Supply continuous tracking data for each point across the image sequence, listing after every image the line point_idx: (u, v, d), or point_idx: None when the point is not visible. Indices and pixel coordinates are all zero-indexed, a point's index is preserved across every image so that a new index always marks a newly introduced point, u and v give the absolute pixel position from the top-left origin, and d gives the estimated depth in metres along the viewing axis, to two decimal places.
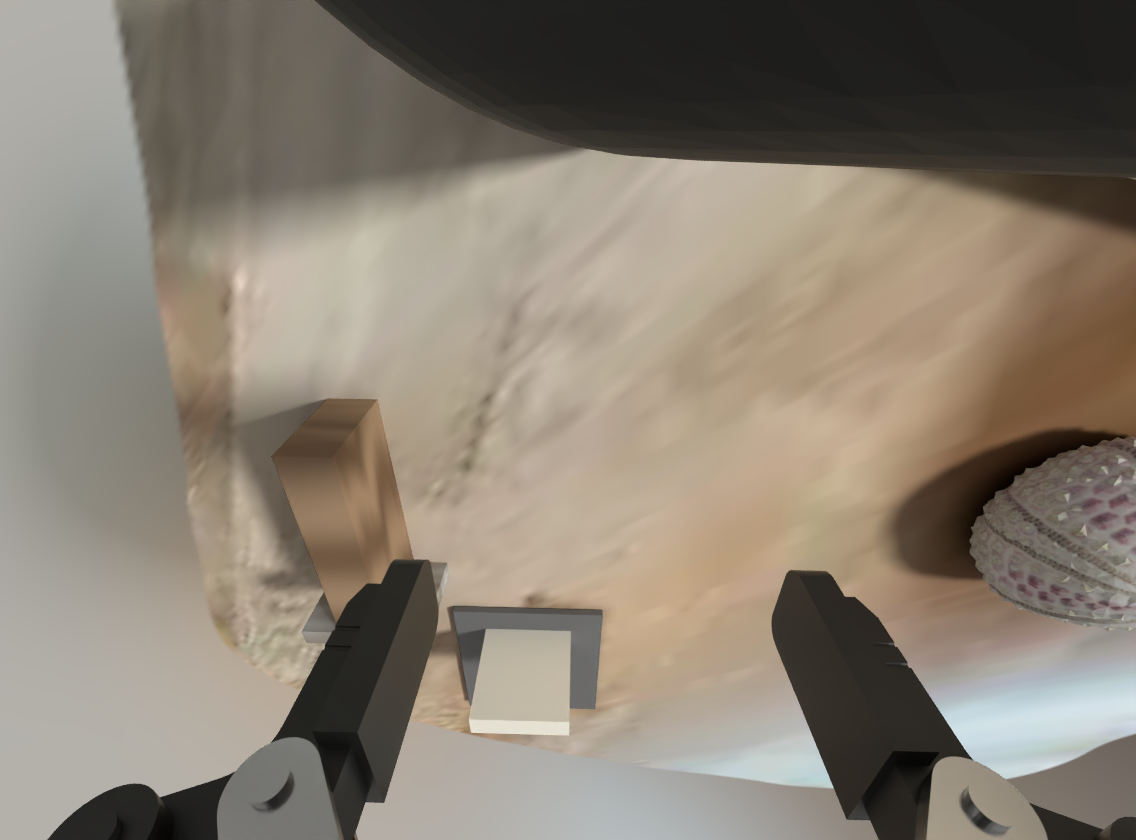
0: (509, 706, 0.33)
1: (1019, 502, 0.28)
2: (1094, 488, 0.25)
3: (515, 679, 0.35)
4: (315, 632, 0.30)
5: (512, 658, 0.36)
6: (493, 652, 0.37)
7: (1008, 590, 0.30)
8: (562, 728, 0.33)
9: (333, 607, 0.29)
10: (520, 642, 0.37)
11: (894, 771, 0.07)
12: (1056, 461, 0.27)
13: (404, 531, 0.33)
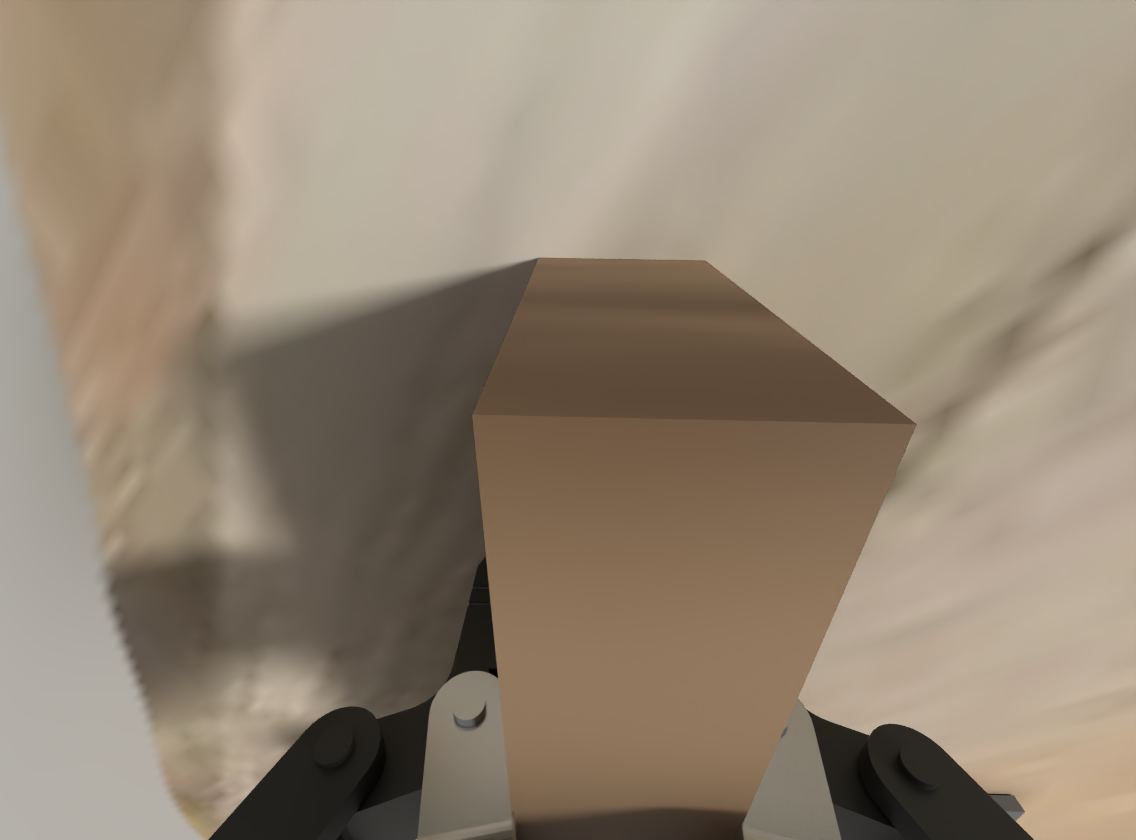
0: None
1: None
2: None
3: None
4: None
5: None
6: None
7: None
8: None
9: None
10: None
11: None
12: None
13: None
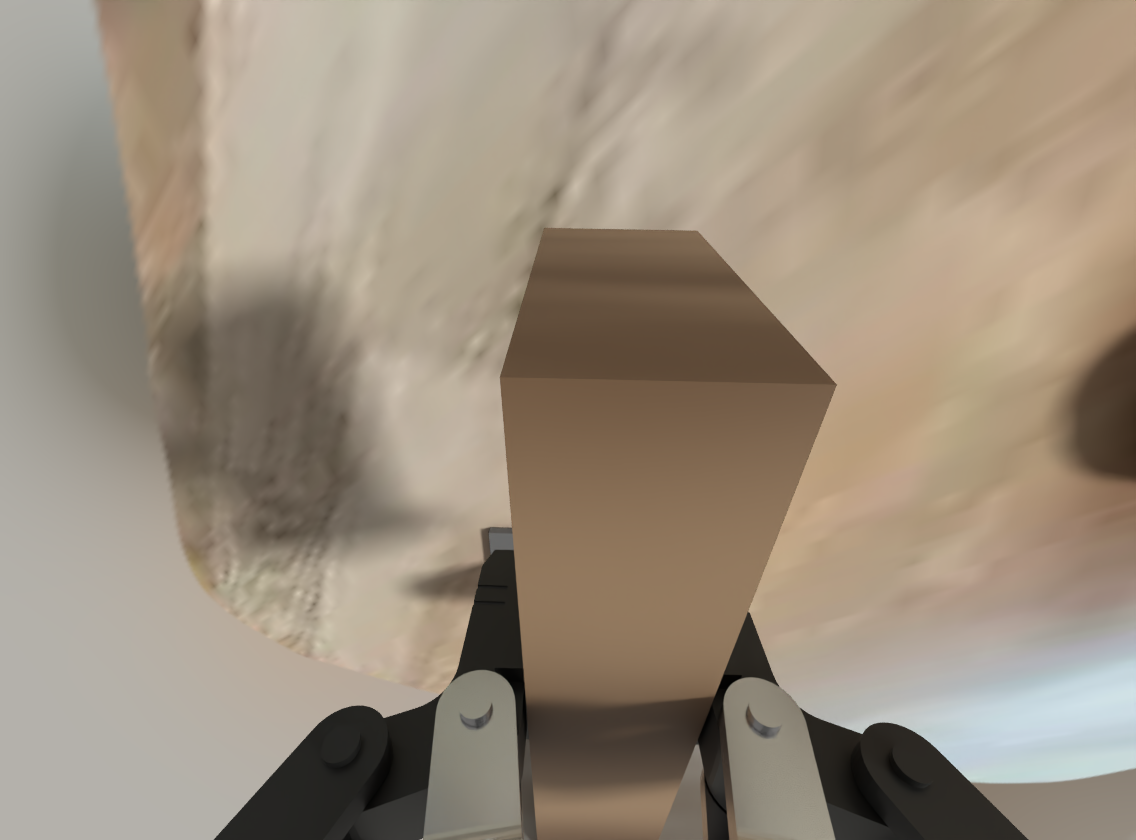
0: None
1: None
2: None
3: None
4: None
5: None
6: None
7: None
8: None
9: (544, 816, 0.11)
10: None
11: None
12: None
13: None
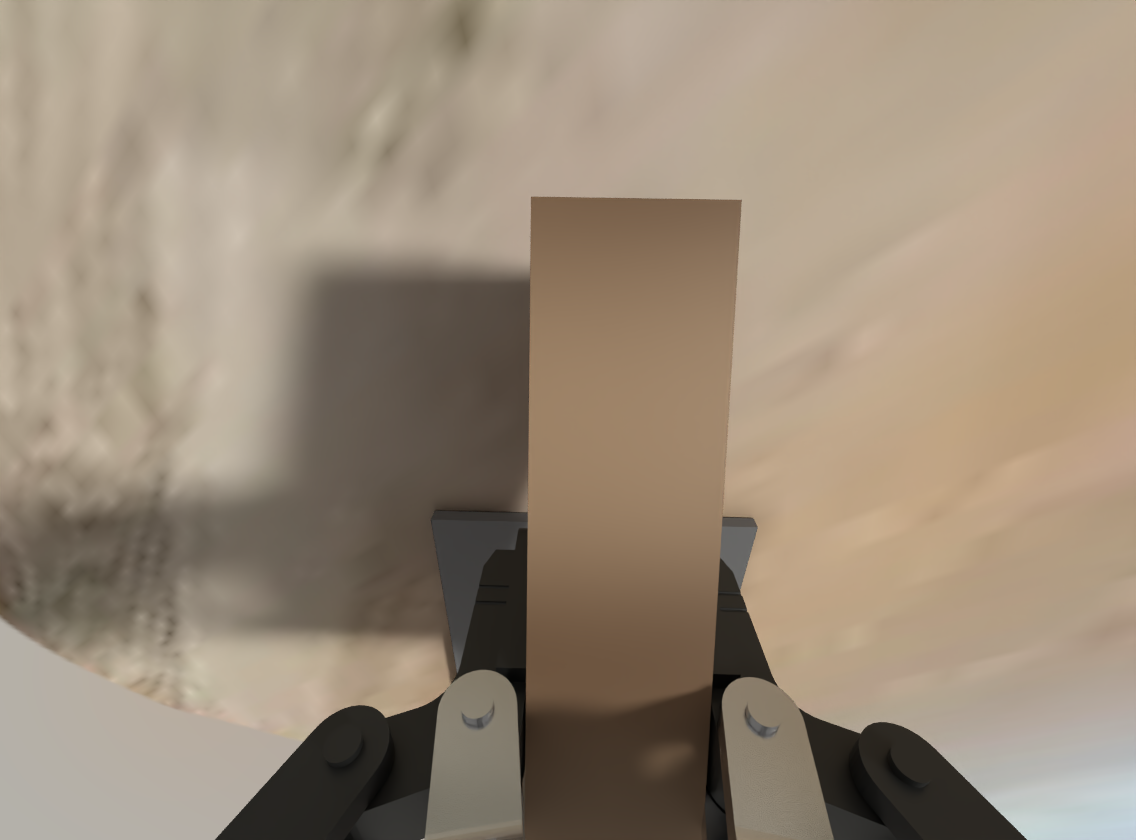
0: None
1: None
2: None
3: None
4: None
5: None
6: None
7: None
8: None
9: None
10: None
11: None
12: None
13: None
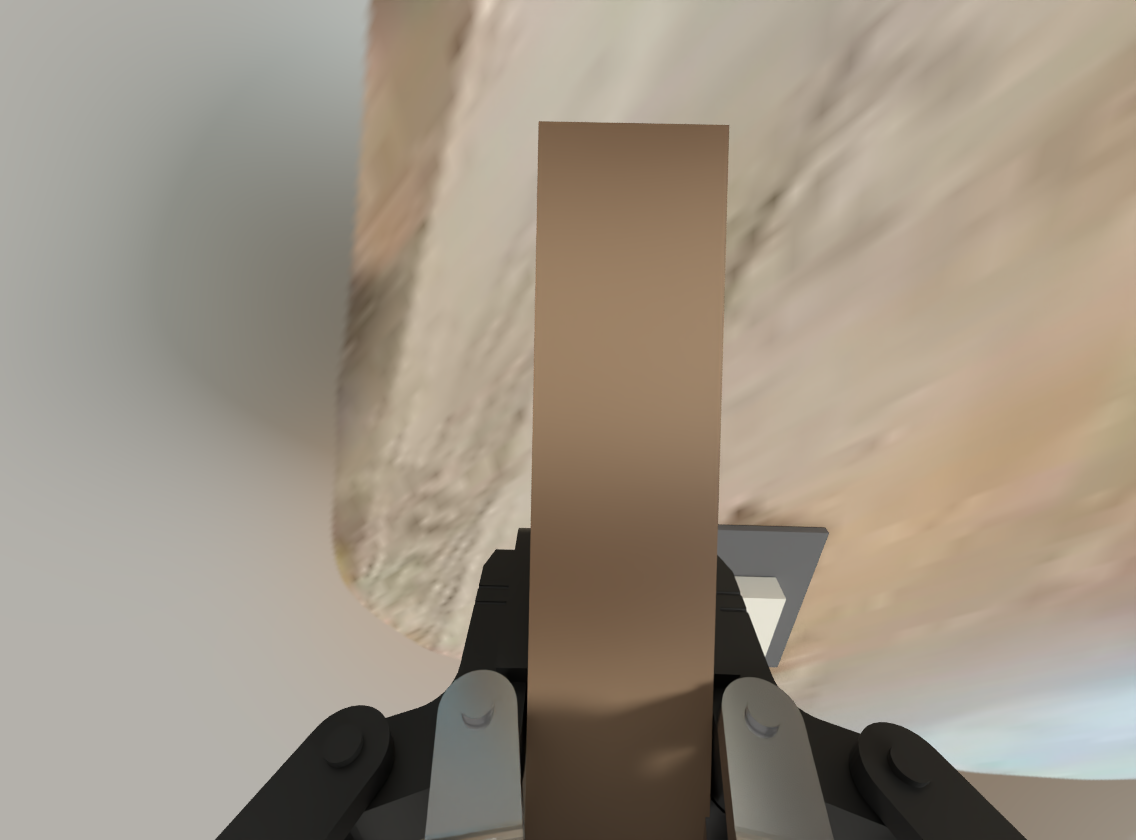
0: None
1: None
2: None
3: None
4: None
5: None
6: None
7: None
8: None
9: (537, 835, 0.08)
10: None
11: None
12: None
13: None
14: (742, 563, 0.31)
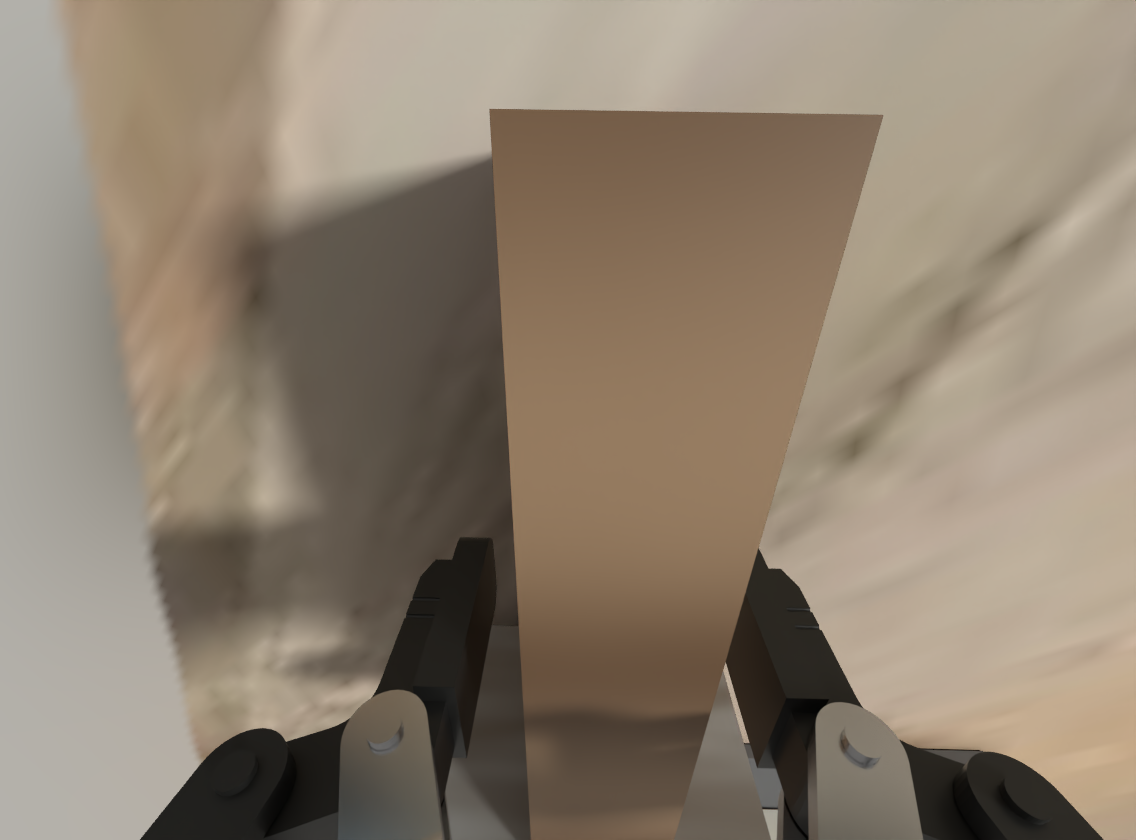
0: None
1: None
2: None
3: None
4: None
5: None
6: None
7: None
8: None
9: (540, 808, 0.09)
10: None
11: (791, 718, 0.08)
12: None
13: None
14: None
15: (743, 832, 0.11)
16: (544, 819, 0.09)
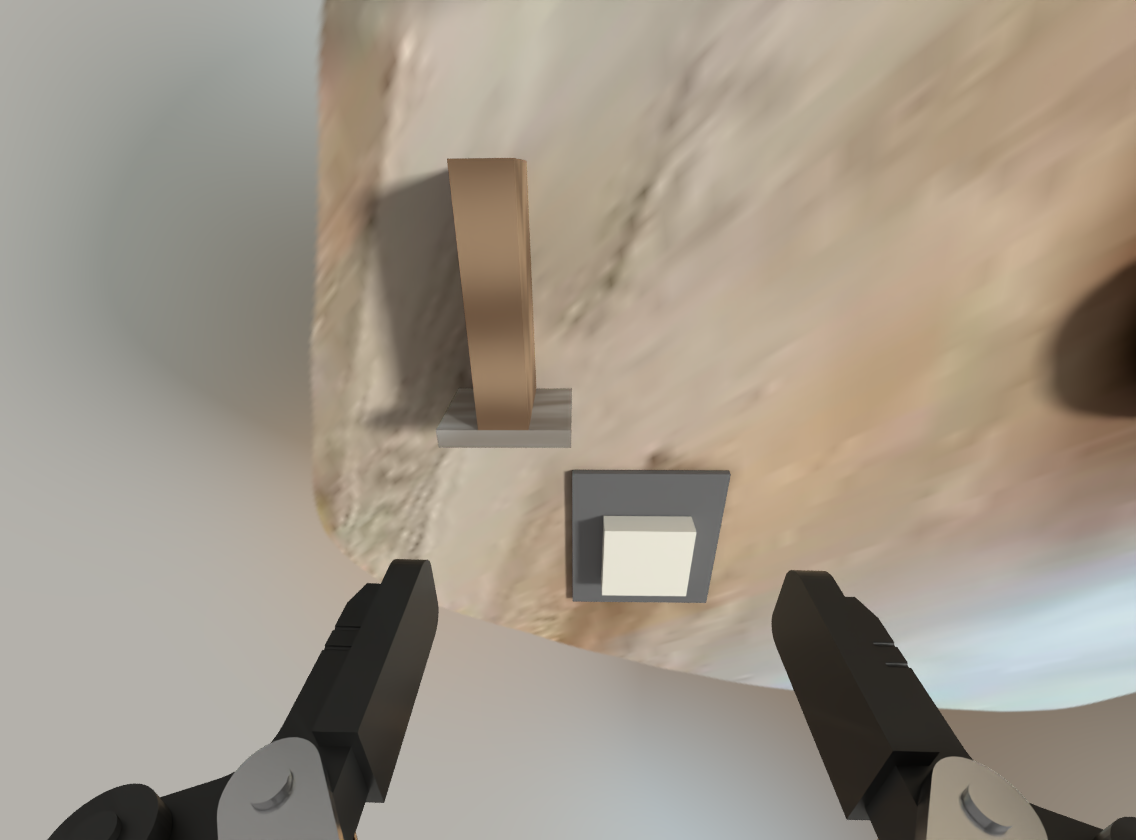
0: (635, 587, 0.38)
1: None
2: None
3: (639, 570, 0.37)
4: (450, 431, 0.28)
5: (635, 555, 0.37)
6: (615, 551, 0.36)
7: None
8: None
9: (477, 391, 0.26)
10: (642, 542, 0.36)
11: (894, 771, 0.07)
12: None
13: (533, 341, 0.31)
14: (661, 504, 0.37)
15: (560, 425, 0.28)
16: (479, 398, 0.26)
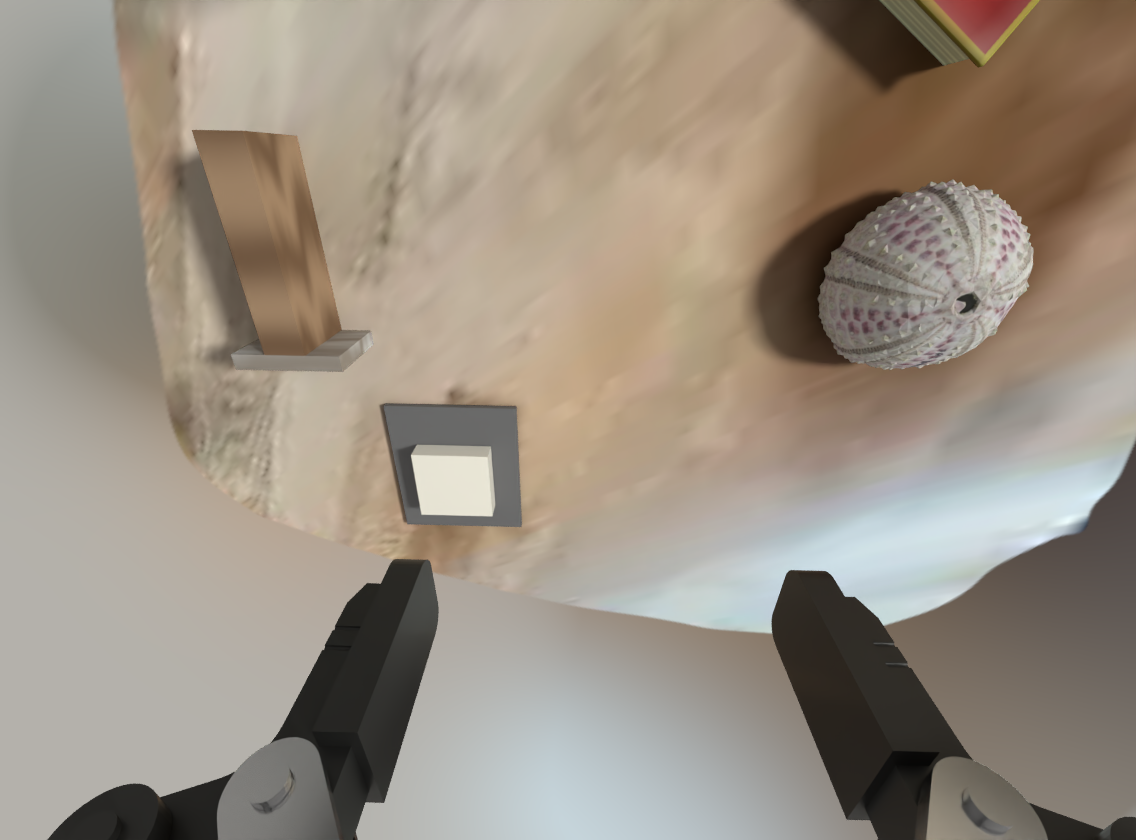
0: (447, 507, 0.45)
1: (846, 246, 0.33)
2: (896, 216, 0.30)
3: (447, 492, 0.44)
4: (242, 355, 0.34)
5: (441, 478, 0.43)
6: (424, 473, 0.43)
7: (844, 337, 0.35)
8: None
9: (256, 321, 0.33)
10: (444, 465, 0.43)
11: (895, 771, 0.07)
12: (875, 211, 0.32)
13: (329, 288, 0.37)
14: (463, 435, 0.43)
15: (334, 353, 0.34)
16: (259, 327, 0.33)
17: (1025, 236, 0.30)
